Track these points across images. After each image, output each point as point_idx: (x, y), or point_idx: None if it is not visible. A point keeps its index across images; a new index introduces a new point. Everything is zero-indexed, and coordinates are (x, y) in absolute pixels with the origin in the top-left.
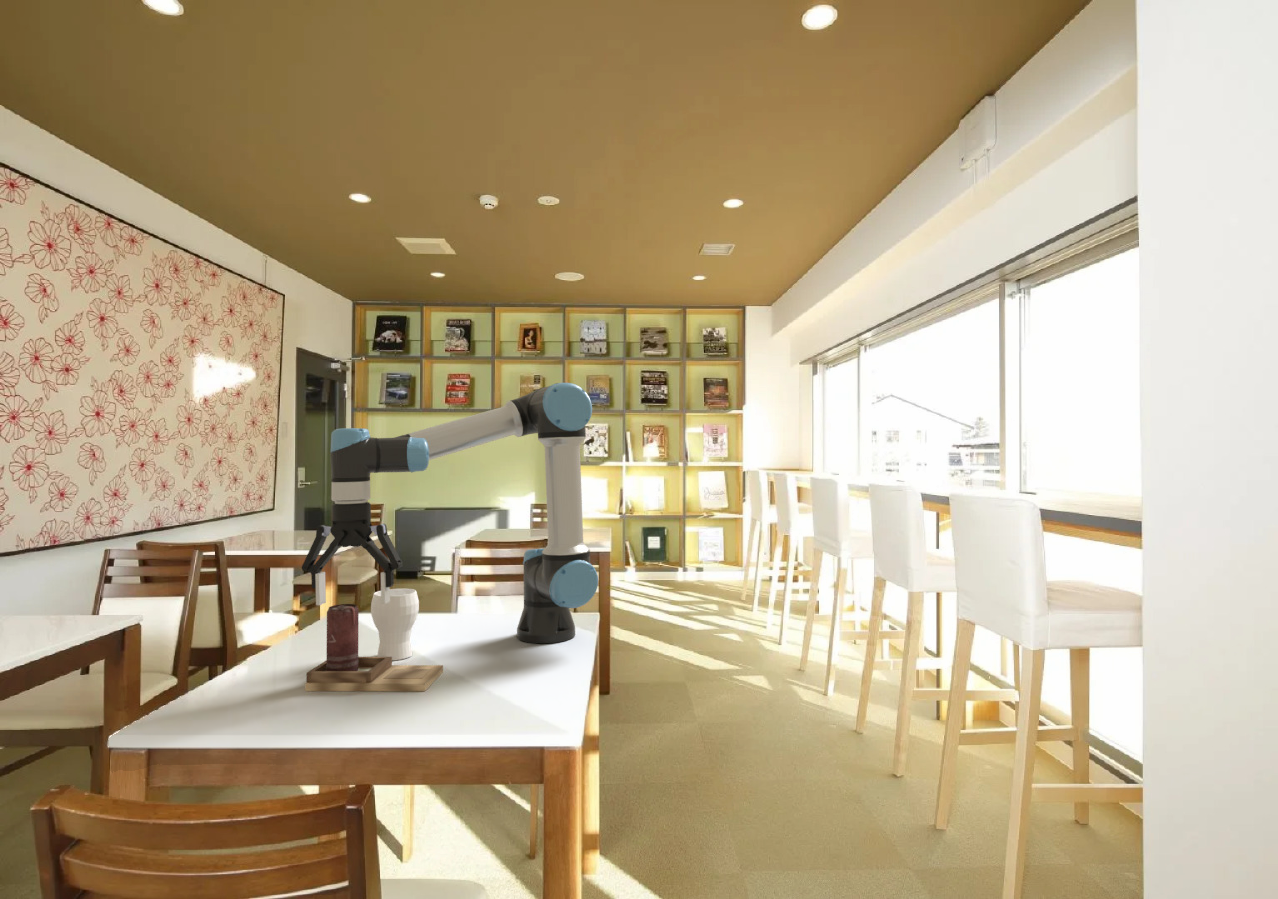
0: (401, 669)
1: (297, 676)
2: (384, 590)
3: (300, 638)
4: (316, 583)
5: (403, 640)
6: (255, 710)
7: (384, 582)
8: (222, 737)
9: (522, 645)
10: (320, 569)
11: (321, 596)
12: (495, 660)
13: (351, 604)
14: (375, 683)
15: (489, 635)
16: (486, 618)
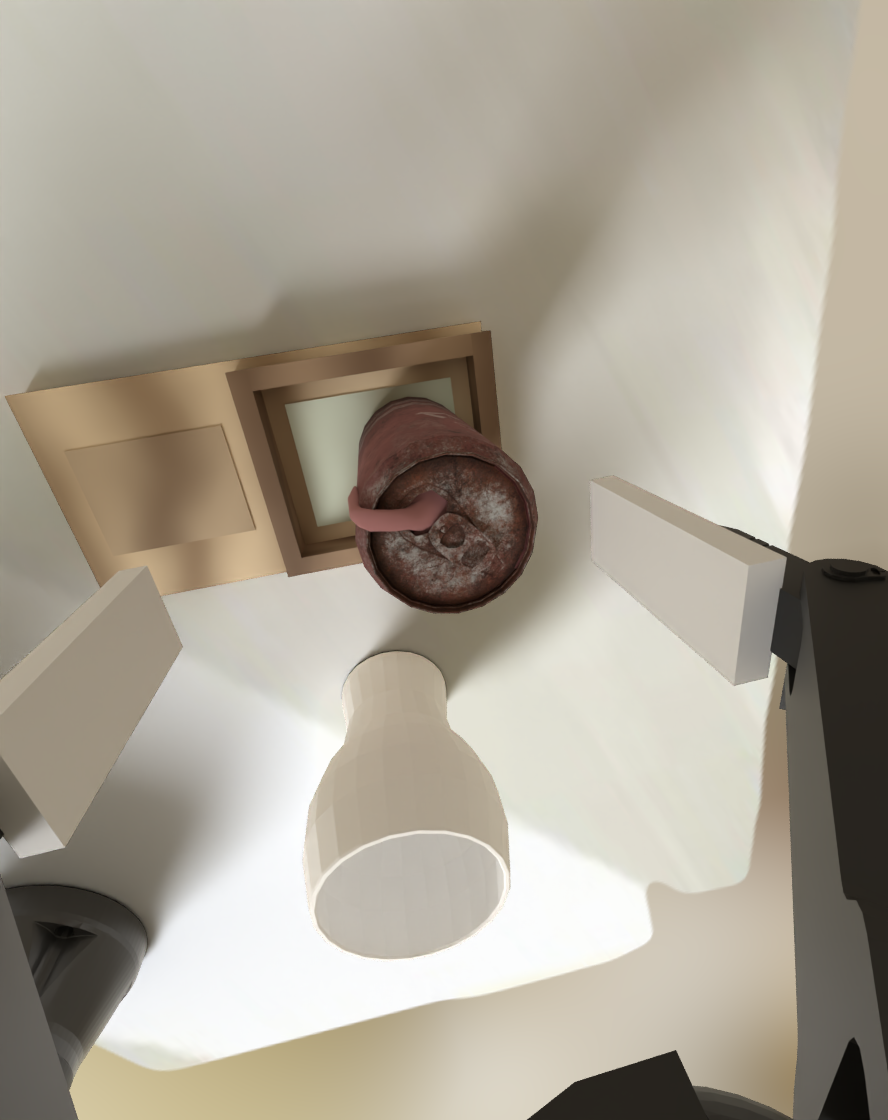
0: (224, 530)
1: (587, 465)
2: (64, 623)
3: (749, 757)
4: (706, 523)
5: (351, 720)
6: (531, 72)
7: (15, 667)
8: None
9: (59, 863)
10: (794, 670)
11: (617, 525)
12: None
13: (442, 610)
14: (210, 365)
15: (234, 904)
16: (343, 1000)
